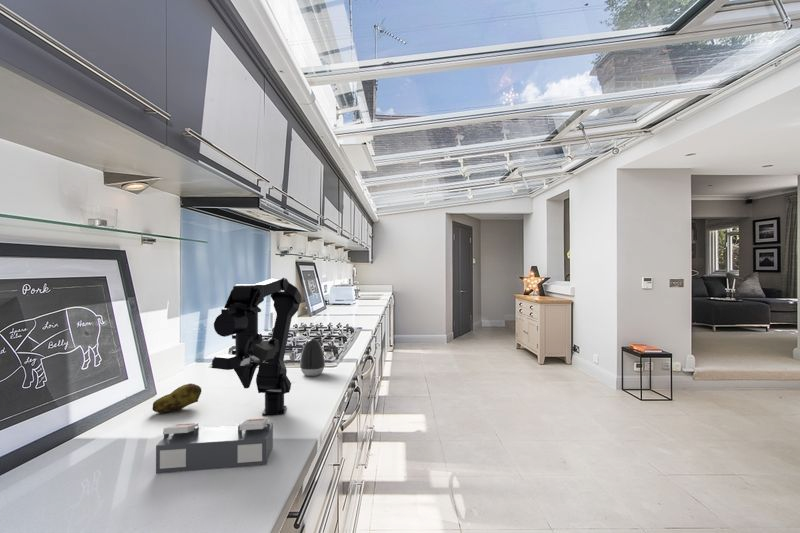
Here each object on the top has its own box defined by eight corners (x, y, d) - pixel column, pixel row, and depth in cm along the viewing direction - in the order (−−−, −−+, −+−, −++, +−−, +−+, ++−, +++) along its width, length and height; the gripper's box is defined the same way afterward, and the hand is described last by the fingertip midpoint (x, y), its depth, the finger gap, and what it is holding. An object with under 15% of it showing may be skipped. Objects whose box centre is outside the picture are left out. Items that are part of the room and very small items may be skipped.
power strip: (173, 454, 94) (173, 421, 94) (272, 447, 98) (272, 415, 98) (155, 474, 85) (155, 437, 85) (266, 465, 89) (266, 430, 89)
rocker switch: (246, 424, 96) (246, 419, 96) (267, 423, 96) (268, 418, 97) (239, 430, 89) (239, 424, 89) (262, 428, 90) (262, 422, 90)
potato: (161, 407, 127) (161, 382, 127) (204, 405, 129) (204, 380, 129) (149, 416, 118) (149, 390, 118) (195, 414, 120) (195, 388, 120)
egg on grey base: (330, 373, 167) (330, 337, 167) (312, 379, 158) (312, 341, 158) (312, 370, 172) (312, 335, 173) (294, 375, 164) (294, 339, 164)
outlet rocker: (175, 430, 93) (176, 424, 93) (198, 428, 94) (198, 422, 94) (162, 434, 86) (163, 427, 87) (187, 432, 87) (187, 426, 88)
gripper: (245, 337, 95) (245, 402, 95) (292, 327, 113) (292, 381, 113) (210, 335, 99) (210, 397, 99) (261, 325, 117) (261, 378, 117)
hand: (246, 388), depth 107 cm, fingers closed
